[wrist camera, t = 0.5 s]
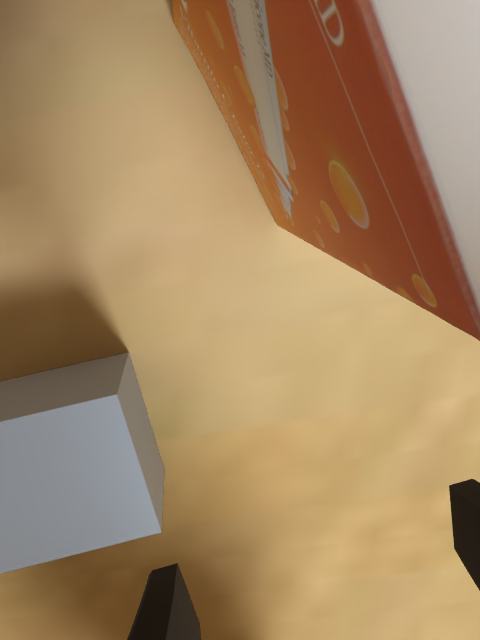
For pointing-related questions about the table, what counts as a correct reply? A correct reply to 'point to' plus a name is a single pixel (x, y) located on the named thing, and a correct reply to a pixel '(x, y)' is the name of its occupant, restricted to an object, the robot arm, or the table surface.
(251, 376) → the table surface
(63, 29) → the table surface
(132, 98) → the table surface
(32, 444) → the slate block
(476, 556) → the robot arm
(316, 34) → the small box
